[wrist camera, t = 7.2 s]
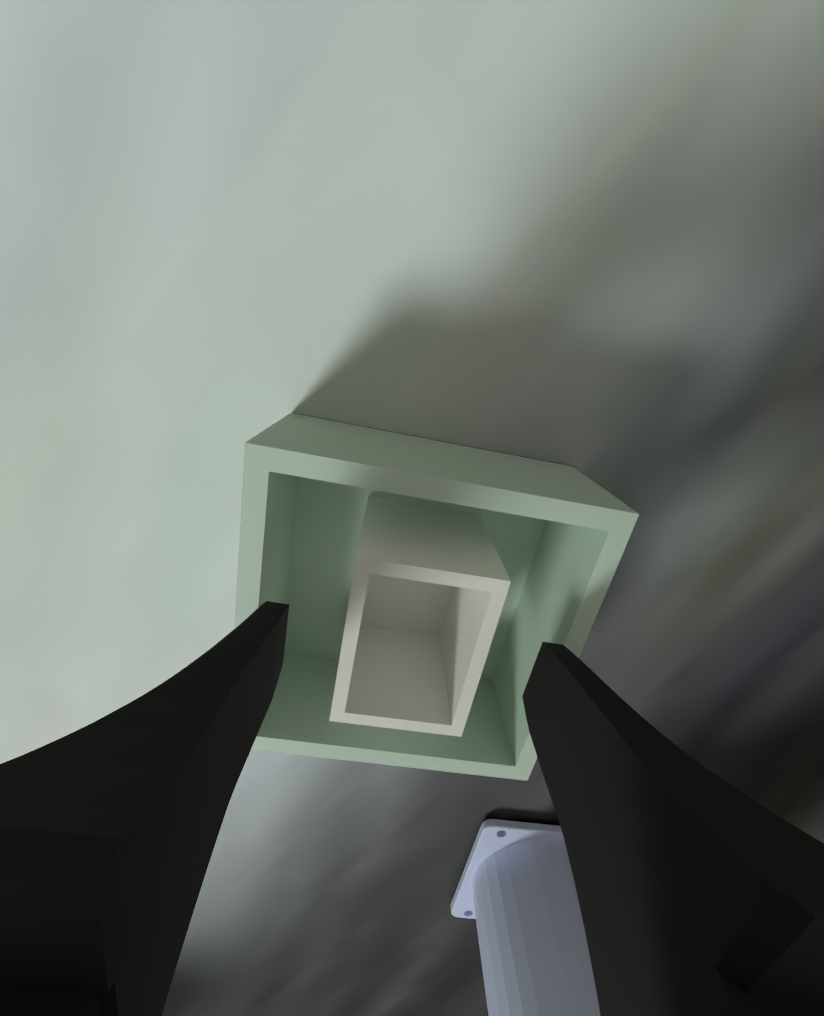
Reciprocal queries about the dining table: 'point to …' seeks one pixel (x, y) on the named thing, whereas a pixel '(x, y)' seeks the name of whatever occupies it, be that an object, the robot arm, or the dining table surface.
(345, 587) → the big crate
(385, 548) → the small crate
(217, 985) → the dining table surface
